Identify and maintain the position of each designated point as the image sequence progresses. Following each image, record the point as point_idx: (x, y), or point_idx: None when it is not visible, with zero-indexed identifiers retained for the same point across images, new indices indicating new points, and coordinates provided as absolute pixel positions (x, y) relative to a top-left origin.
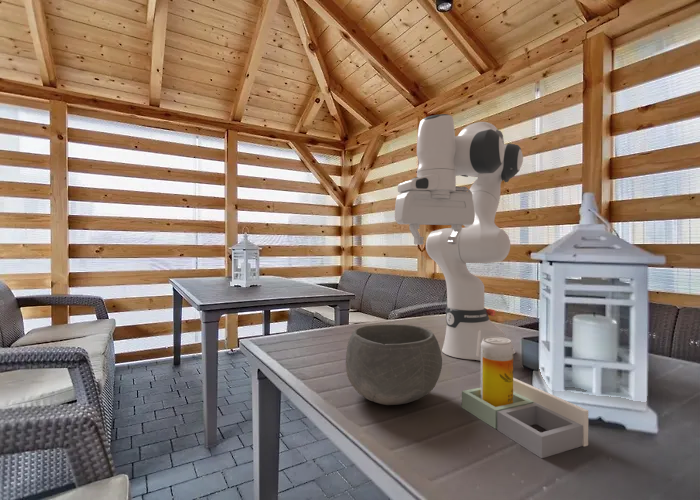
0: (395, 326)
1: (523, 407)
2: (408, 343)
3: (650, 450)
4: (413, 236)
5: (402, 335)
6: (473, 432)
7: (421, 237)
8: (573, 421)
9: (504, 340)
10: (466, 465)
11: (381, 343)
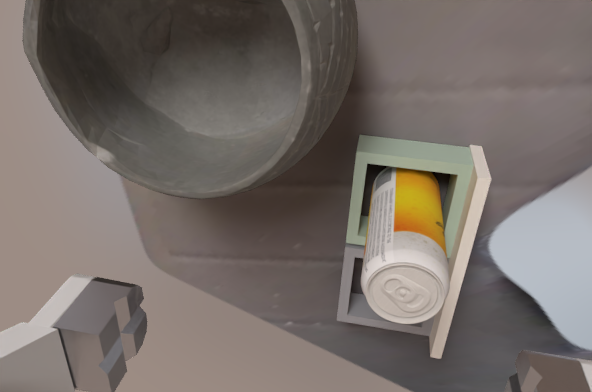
0: None
1: None
2: (159, 191)
3: (504, 360)
4: (19, 327)
5: None
6: (304, 210)
7: (91, 385)
8: (431, 324)
9: (426, 301)
10: (232, 258)
11: None
